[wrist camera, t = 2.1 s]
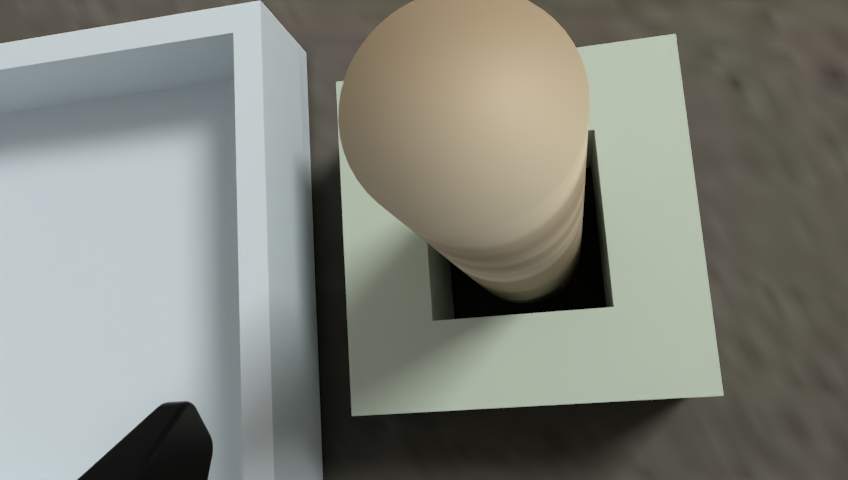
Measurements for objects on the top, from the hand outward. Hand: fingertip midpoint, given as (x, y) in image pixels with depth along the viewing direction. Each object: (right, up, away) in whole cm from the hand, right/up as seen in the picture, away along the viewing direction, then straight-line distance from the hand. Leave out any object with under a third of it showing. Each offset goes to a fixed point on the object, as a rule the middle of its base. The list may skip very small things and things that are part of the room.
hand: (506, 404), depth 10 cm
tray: (-12, 0, +13) cm, 18 cm away
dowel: (+2, +2, +11) cm, 11 cm away
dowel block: (+2, +2, +11) cm, 11 cm away
